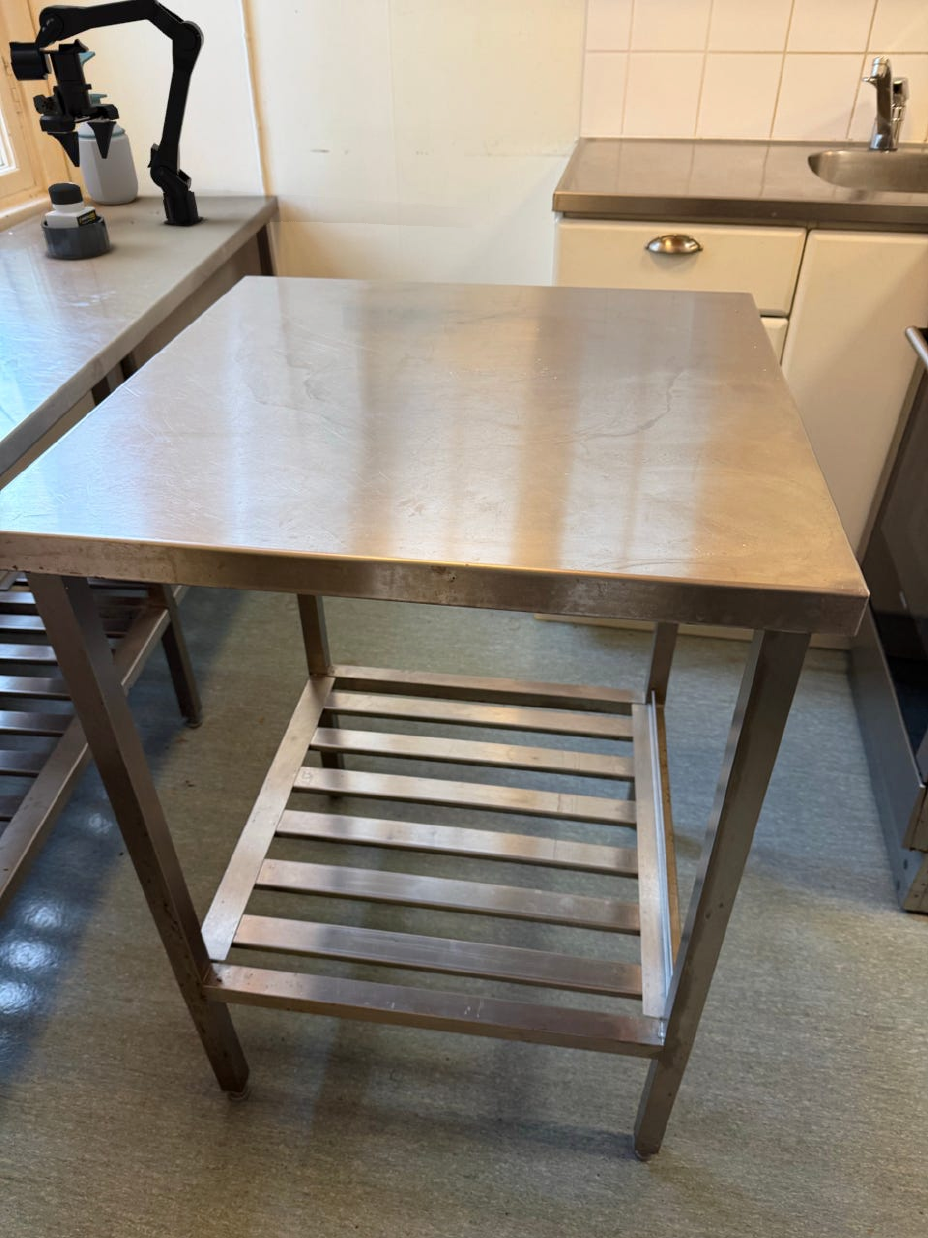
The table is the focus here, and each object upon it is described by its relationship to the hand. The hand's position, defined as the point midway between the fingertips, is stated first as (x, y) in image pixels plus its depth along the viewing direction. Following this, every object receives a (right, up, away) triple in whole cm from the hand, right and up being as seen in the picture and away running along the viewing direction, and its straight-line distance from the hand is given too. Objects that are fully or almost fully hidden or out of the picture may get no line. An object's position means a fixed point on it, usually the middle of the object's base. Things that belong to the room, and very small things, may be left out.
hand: (91, 162), depth 193 cm
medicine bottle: (+1, -22, -9) cm, 24 cm away
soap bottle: (-5, +4, +27) cm, 28 cm away
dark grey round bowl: (+1, -23, -8) cm, 24 cm away
